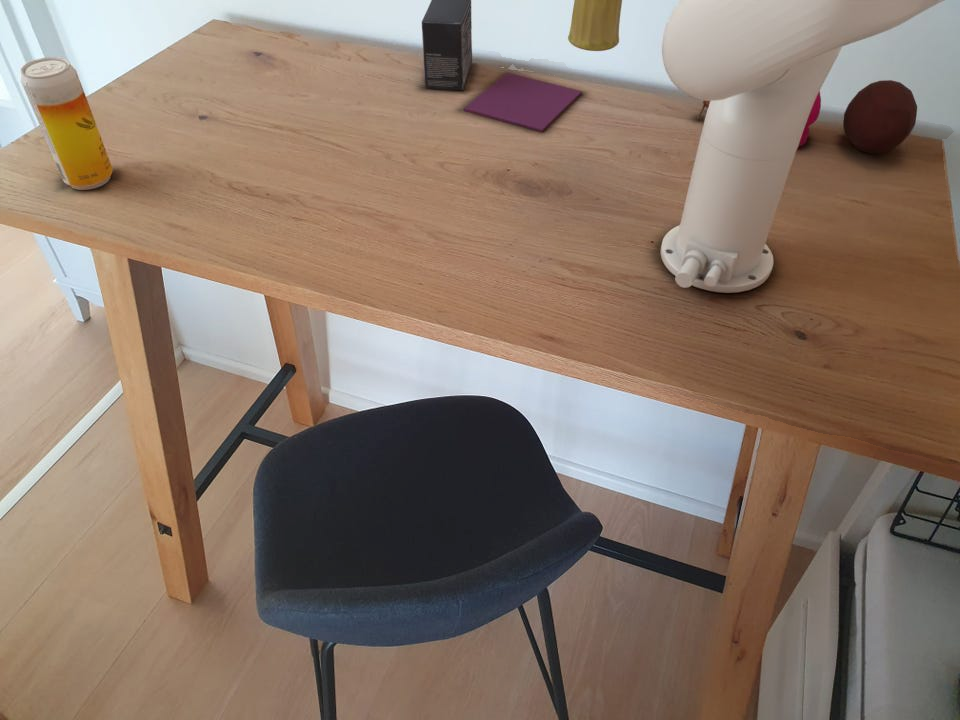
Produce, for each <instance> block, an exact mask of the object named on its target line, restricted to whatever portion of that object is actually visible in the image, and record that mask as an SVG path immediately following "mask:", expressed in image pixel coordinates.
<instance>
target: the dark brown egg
mask: <svg viewBox="0 0 960 720" xmlns="http://www.w3.org/2000/svg"><path fill="white" fill-rule="evenodd" d="M917 115H918V104H917V102H916V99H915V97H914V93H913V91H912V90H911V89H910V88H908V87H907V86H906V85H905V84H903V83H901V82H900V81H896V80H892V79H887V80H886V79H884V80H877V81H874V82H871V83H869V84H868V85H866V86H865V87H864V88H863V87H862V88H861V89H860V90H859V91H858V92H857V93H856V94H855V95H854V97H853V98H852V99H851V100H850V102H848V104H847V107H846V109H845V110H844V113H843V122H842V125H843V127H842V128H843V131H844V135H845V137H846V138H847V140H849V142H850V143H851V144H852V145H853V146H854V147H855V148H856V149H858V150H859V151H861V152H864V153H867V154H868V153H869V154H885V153H887V152H890V151H892V150H894V149H895V148H897V147H898V146H899V145H900V144H902V143H903V142H904V141H905V140H907V138H908V137H909V136H910V135H911V133H912V131H913V129H914V128H915V125H916V122H917Z"/></svg>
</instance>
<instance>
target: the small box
mask: <svg viewBox="0 0 960 720" xmlns="http://www.w3.org/2000/svg"><path fill="white" fill-rule="evenodd" d="M472 23H473V22H472V0H430V2H429V5H428V7H427V9H426V11H425V14H424V16H423V18H422V20H421V37H422V50H423V51H422V52H423V53H422V54H423V55H422V56H423V72H424V73H423V75H424V88H425V89H428V90H429V89H432V90H443V91H444V90H445V91H460V92H462V91H464V89H465V87H466V83H467V80H468V77H469V74H470V72H471V69H472V68H471V67H472V65H473V39H472V37H473V36H472V30H473V29H472V28H473V26H472Z"/></svg>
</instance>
